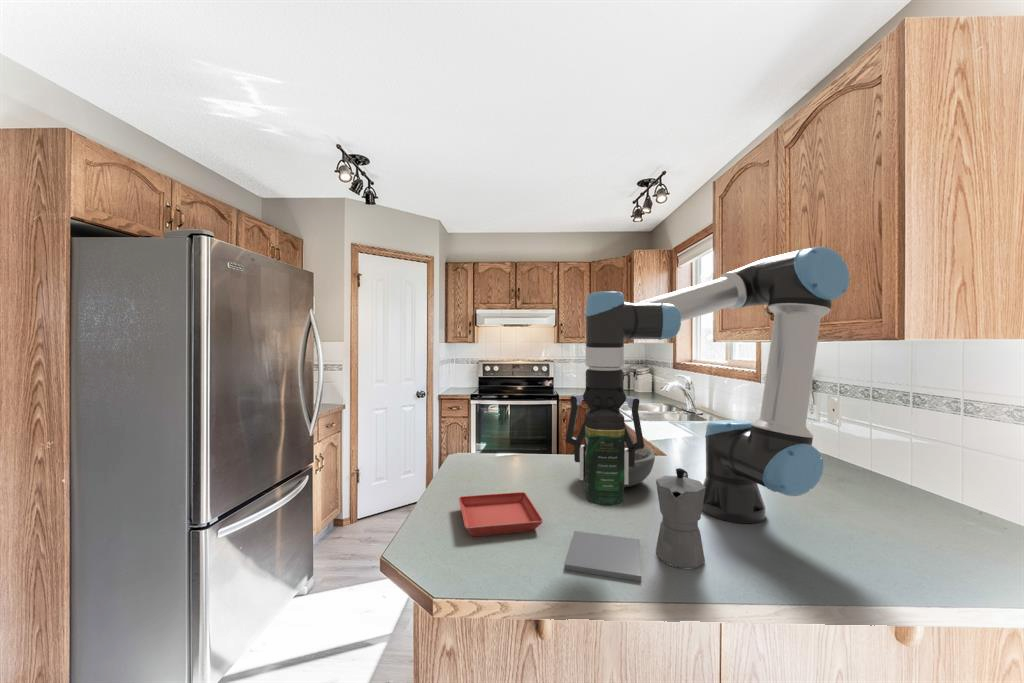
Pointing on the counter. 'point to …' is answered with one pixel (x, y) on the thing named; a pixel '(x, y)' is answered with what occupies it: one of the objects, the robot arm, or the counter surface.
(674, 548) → the coffeepot
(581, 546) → the plate
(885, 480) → the counter surface
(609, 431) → the coffee jar
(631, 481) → the bowl
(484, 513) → the plant saucer
